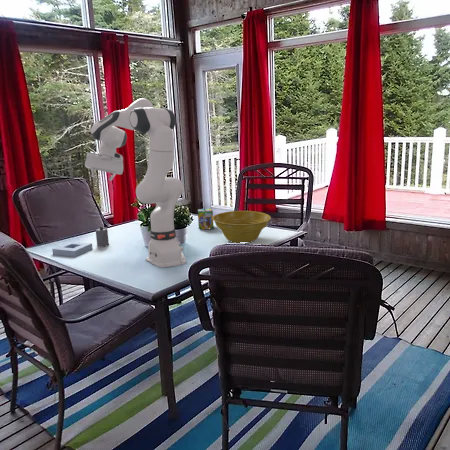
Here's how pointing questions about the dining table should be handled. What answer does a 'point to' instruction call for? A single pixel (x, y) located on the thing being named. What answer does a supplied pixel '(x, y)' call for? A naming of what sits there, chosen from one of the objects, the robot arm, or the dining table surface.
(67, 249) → the socket
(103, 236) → the plug
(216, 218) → the planter bowl
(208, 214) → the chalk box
